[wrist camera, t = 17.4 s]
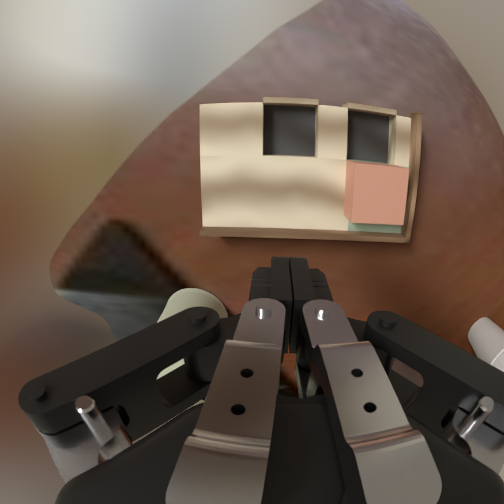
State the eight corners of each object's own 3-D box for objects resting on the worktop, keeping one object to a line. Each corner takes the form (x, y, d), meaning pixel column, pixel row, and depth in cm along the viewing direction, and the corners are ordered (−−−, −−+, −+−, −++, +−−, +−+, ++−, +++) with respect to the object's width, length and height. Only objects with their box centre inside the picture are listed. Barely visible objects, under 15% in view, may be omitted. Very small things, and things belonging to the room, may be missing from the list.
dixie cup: (459, 353, 41) (481, 388, 32) (464, 320, 38) (492, 356, 29) (490, 337, 39) (514, 368, 30) (497, 304, 36) (526, 335, 27)
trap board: (396, 232, 33) (409, 243, 30) (207, 225, 35) (199, 235, 31) (406, 115, 28) (421, 113, 24) (204, 101, 29) (196, 97, 26)
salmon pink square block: (391, 216, 30) (403, 225, 27) (343, 213, 31) (351, 222, 28) (396, 165, 28) (409, 168, 25) (346, 160, 29) (355, 163, 25)
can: (178, 341, 43) (155, 398, 32) (157, 292, 39) (122, 344, 28) (235, 336, 41) (223, 398, 30) (218, 283, 38) (197, 340, 27)
